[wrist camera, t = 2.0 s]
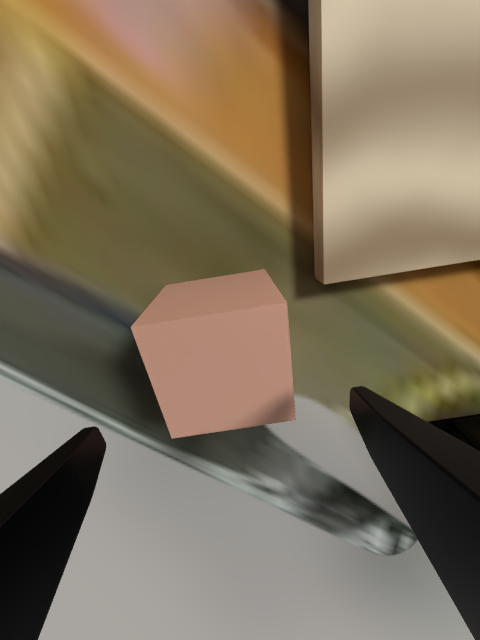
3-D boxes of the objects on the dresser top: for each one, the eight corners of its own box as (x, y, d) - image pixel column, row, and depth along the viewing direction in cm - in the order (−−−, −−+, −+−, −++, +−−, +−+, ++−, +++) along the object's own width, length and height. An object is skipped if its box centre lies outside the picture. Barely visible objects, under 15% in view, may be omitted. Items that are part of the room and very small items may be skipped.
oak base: (545, 241, 15) (577, 244, 13) (314, 278, 15) (323, 284, 14) (680, -149, 9) (761, -214, 8) (306, -82, 9) (320, -134, 8)
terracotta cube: (273, 353, 17) (295, 419, 12) (189, 366, 17) (171, 438, 12) (264, 268, 15) (286, 302, 9) (166, 284, 15) (130, 327, 9)
